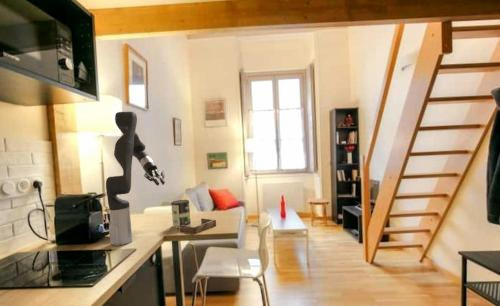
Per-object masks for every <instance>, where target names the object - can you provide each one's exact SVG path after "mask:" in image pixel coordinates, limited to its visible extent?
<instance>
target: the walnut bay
mask: <svg viewBox="0 0 500 306" xmlns="http://www.w3.org/2000/svg"><path fill="white" fill-rule="evenodd" d="M216 221H217V220H216V219H212V218H203V217H202V218H201V219H200V222H201V224H199V225H196V226H191V225H189V226H185V225H181V228H180V231H181V232H185V233H190V234H196V233H200V232H202V231H204V229H205V230H207V228H208V229H210V228H213V227H215V226H217V222H216ZM201 230H202V231H201ZM199 231H200V232H199Z"/></svg>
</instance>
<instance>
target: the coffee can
mask: <svg viewBox="0 0 500 306" xmlns="http://www.w3.org/2000/svg"><path fill="white" fill-rule="evenodd" d="M170 205H171V206H170V207H171V215H172V227H173V228H175V229H178V228H179V229H181V225H185V226H191V225H192V223H191V213H190V212H191V210H190V200H189V199H179V200H174V201H171V202H170Z"/></svg>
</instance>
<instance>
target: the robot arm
mask: <svg viewBox="0 0 500 306" xmlns="http://www.w3.org/2000/svg"><path fill="white" fill-rule="evenodd" d="M137 116H138V115H137V114H136V112H134V111H118V112H116V113H115V115H114V121H115V125H116V126H117V128H118V129H119V130H120V132H121V133H122V135H121V136H119V138H118V139H117V140H116V142H115V145H114V152H113V156H114V158H115V160H116V162H117V163H118V164H119V165H120V168H121V169H122V171H123V172H122V173H123V174H122V175H115V176H109V177H107V178H106V180H105V190H106V196H107V197H106V198H107V205H108V211H109V222H110V224H109V225H108V230H109V231H108V232H109V241H110V242H109V243H110V245H112V246H115V247H118V246H123V245H127V244H130V243H132V242H133V232H132V220H131V219H132V218H131V210H130V209H131V208H130V202H129V201H128V200H125V199H122V198H120V197H118V195H119V196H121V195H127V194H129V193H130V191H131V189H132V165H133V158H136V160H137V161H138V162H139V163H140V166H141V167H142V169H143V171H144V172H145V173H144V175H143V177H144V178H145V179H147V180H148V181H149V182H153V183H154V184H155V185H156V186H160V184H161V185H162V186H163V185H165V183H166V181H165V177H166V176H165V173H164V170H161V171H160V170H159V169H158V167H157V165H156V163H155V162H154V161H153V159H152V158H151V157H150V156H149V154H148V153H147V151H145V150H146V145H145V143H144V142H143V141H141V140H140V137H139V134H138V133H137V132H136V128H137V124H138V123H137V122H138V118H137ZM159 181H160V182H159Z"/></svg>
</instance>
